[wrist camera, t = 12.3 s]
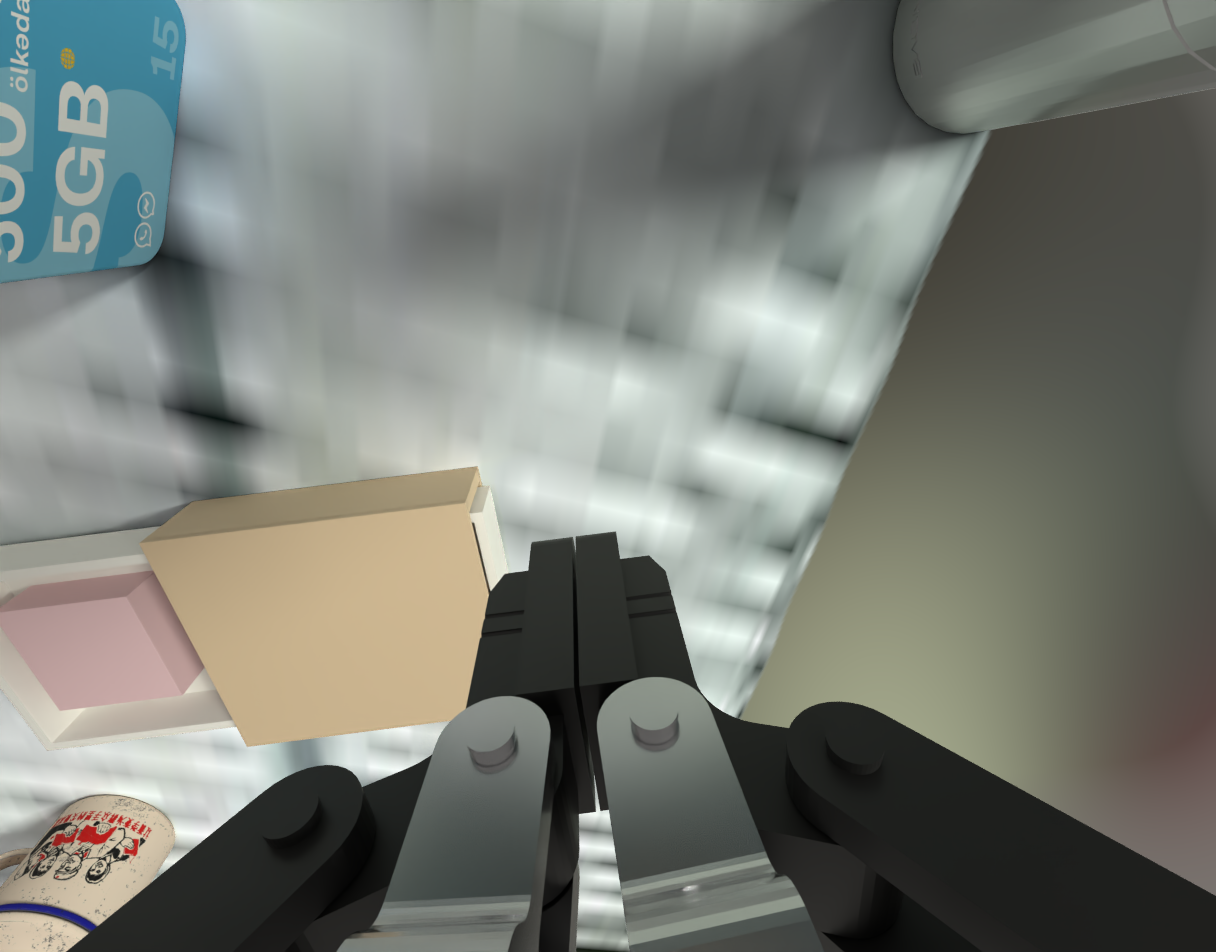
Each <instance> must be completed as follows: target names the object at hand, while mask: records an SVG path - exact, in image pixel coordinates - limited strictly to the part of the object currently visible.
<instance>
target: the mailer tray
mask: <svg viewBox="0 0 1216 952" xmlns="http://www.w3.org/2000/svg"><path fill="white" fill-rule="evenodd" d="M469 513H470V518H471V522H472V526H473V530H474V534H475V539H476V543H477V547H478V551H479V555H480V560H481V564H482V568H483V572H484V576H485V581H486V585H487V589H488V593H490V592H491V590H492V589H493V588H494V587H495V585H496V584H497V583H498V582H499V580H500V579H501V578H502V577H503V575H504V574H507V573H509V572H508V567H507V563H506V558H505V553H504V549H503V544H502V539H501V535H500V530H499V525H498V521H497V516H496V511H495V507H494V502H493V498H492V493H491V488H490V486H483V487H477V490H476V493H475V496H474V499H473V502H472V505H471V508H470V511H469ZM159 527H161V526H158V527H149V528H141V529H133V530H125V531H117V532H109V533H101V534H93V535H84V536H76V537H68V538H60V539H52V540H44V541H36V542H27V543H19V544H11V545H3V546H0V688H1V690H2V691H3V692H4V694H5V695H6V696H7V698H8V699H9V700H10V702H11V703H12V704H13V706H14V707H15V708H16V710H17V711H18V712H19V714H20V715H21V716H22V718H23V719H24V720H25V722H26V723H27V724H28V726H29V727H30V728H31V730H32V731H33V732H34V734H35V735H36V736H37V738H38V739H39V741H40V742H41V743H42V745H43V746H44V747H45V749H46V750H47V751H50V750H58V749H66V748H74V747H81V746H89V745H97V744H105V743H113V742H120V741H128V740H136V739H144V738H152V737H159V736H167V735H175V734H183V733H191V732H198V731H206V730H214V729H222V728H230V727H236V725H235V723H234V721H233V719H232V717H231V715H230V714H229V712H228V710H227V708H226V706H225V704H224V702H223V700H222V699H221V697H220V695H219V693H218V691H217V689H216V687H215V685H214V684H213V682H212V680H211V678H210V676H209V674H208V672H207V670H206V669H205V667H204V665H203V663H202V661H201V659H200V657H199V655H198V653H197V652H196V650H195V648H194V646H193V644H192V642H191V640H190V638H189V637H188V635H187V633H186V631H185V629H184V627H183V625H182V623H181V622H180V620H179V618H178V616H177V614H176V612H175V610H174V608H173V607H172V605H171V603H170V601H169V599H168V597H167V595H166V593H165V592H164V590H163V588H162V586H161V584H160V582H159V580H158V578H157V577H156V575H155V573H154V571H153V569H152V567H151V565H150V563H149V562H148V560H147V558H146V556H145V554H144V552H143V550H142V548H141V546H140V545H139V543H140V542H141V541H143V540H144V539H145V538H146V537H148V536H149V535H150V534H152V533H153V532H154V531H155V530H157V529H158V528H159Z"/></svg>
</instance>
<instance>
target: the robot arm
mask: <svg viewBox="0 0 1216 952" xmlns="http://www.w3.org/2000/svg"><path fill="white" fill-rule="evenodd" d="M893 61H894V66H895V72H896V77H897V81H898V84H899V86H900V89H901V91H902V93H903V96H904V98H905V100H906V101H907V103H908V104H909V106H910V107H911V108H912V110H913V111H914V112H915V114H916V115H918V116H919V117H920V118H921V119H922V120H924V121H925V122H926V123H927V124H929V125H930V126H933V127H935V128H938V129H940V130H942V131H945V132H952V133H959V134H965V133H973V132H981V131H986V130H992V129H997V128H1002V127H1008V126H1013V125H1018V124H1025V123H1031V122H1037V121H1042V120H1047V119H1053V118H1057V117H1063V116H1068V115H1074V114H1079V113H1085V112H1090V111H1095V110H1100V109H1105V108H1111V107H1116V106H1122V105H1127V104H1132V103H1138V102H1143V101H1149V100H1154V99H1159V98H1165V97H1170V96H1175V95H1181V94H1186V93H1191V92H1196V91H1202V90H1207V89H1213V88H1216V0H901V1H900V4H899V7H898V10H897V16H896V22H895V28H894V34H893ZM594 775H595V781H596V787H597V793H598V799H599V805H600V811H603V810H609V813H610V819H611V826H612V833H613V839H614V846H615V853H616V859H617V866H618V873H619V879H620V886H621V893H622V899H623V906H624V915H625V922H626V929H627V935H628V942H629V949H630V952H1216V896H1215V895H1213V894H1211V893H1209V892H1208V891H1206V890H1204V889H1202V888H1200V887H1198V886H1197V885H1195V884H1193V883H1191V882H1189V881H1187V880H1186V879H1184V878H1182V877H1180V876H1178V875H1176V874H1175V873H1173V872H1171V871H1169V870H1167V869H1166V868H1164V867H1162V866H1160V865H1158V864H1156V863H1155V862H1153V861H1151V860H1149V859H1147V858H1145V857H1144V856H1142V855H1140V854H1138V853H1136V852H1134V851H1133V850H1131V849H1129V848H1127V847H1125V846H1124V845H1122V844H1120V843H1118V842H1116V841H1114V840H1113V839H1111V838H1109V837H1107V836H1105V835H1103V834H1102V833H1100V832H1098V831H1096V830H1094V829H1092V828H1091V827H1089V826H1087V825H1085V824H1083V823H1081V822H1079V821H1078V820H1076V819H1074V818H1072V817H1071V816H1069V815H1067V814H1065V813H1063V812H1061V811H1059V810H1058V809H1056V808H1054V807H1052V806H1050V805H1049V804H1047V803H1045V802H1043V801H1041V800H1040V799H1038V798H1036V797H1034V796H1032V795H1030V794H1028V793H1026V792H1025V791H1023V790H1021V789H1019V788H1018V787H1016V786H1014V785H1012V784H1010V783H1009V782H1007V781H1005V780H1003V779H1001V778H999V777H998V776H996V775H994V774H992V773H990V772H988V771H986V770H985V769H983V768H981V767H979V766H977V765H976V764H974V763H972V762H970V761H968V760H966V759H965V758H963V757H961V756H959V755H957V754H956V753H954V752H952V751H950V750H948V749H946V748H945V747H943V746H941V745H939V744H937V743H935V742H934V741H932V740H930V739H928V738H926V737H924V736H923V735H921V734H919V733H917V732H915V731H914V730H912V729H910V728H908V727H906V726H904V725H903V724H901V723H899V722H897V721H895V720H893V719H892V718H890V717H888V716H886V715H884V714H882V713H880V712H878V711H876V710H874V709H871V708H868V707H866V706H863V705H859V704H854V703H849V702H826V703H821V704H817V705H814V706H811V707H809V708H807V709H806V710H804V711H802V712H801V713H800V714H799V715H798V716H797V717H796V718H795V719H794V720H793V722H792V723H791V725H790V728H784V727H777V726H771V725H764V724H758V723H752V722H748V721H743V720H740V719H737V718H735V717H732V716H730V715H728V714H726V713H724V712H722V711H721V710H719V709H718V708H716V707H715V706H714V705H712V704H711V703H710V702H709V701H708V700H707V699H706V698H705V697H704V695H703V694H702V693H701V691H700V690H699V688H698V686H697V684H696V681H695V678H694V674H693V671H692V667H691V663H690V660H689V656H688V652H687V649H686V645H685V641H684V638H683V634H682V630H681V627H680V623H679V619H678V616H677V613H676V608H675V605H674V601H673V597H672V595H671V590H670V586H669V582H668V579H667V575H666V571H665V570H664V569H663V568H662V567H660V566H659V565H658V564H657V563H656V562H655V561H654V560H653V559H652V558H651V557H650V556H642V557H634V558H626V559H620V556H619V549H618V543H617V536H616V532H608V533H600V534H592V535H584V536H576V552H575V545H574V540H573V537H569V538H561V539H553V540H545V541H537V542H532V544H531V551H530V561H529V570H528V571H523V572H515V573H507V574H504V575H503V577H502V578H501V579H500V580H499V582H498V583H497V584H496V585H495V587H494V588H493V589H492V590H491V592H490V593H489V596H488V601H487V606H486V611H485V619H484V621H483V626H482V631H481V638H480V641H479V645H478V650H477V655H476V660H475V665H474V670H473V675H472V680H471V685H470V690H469V695H468V700H467V705H466V709H465V710H463V711H462V712H461V713H459V714H458V715H457V716H456V717H455V718H453V719H452V720H451V721H450V722H449V724H448V725H447V726H446V727H445V728H444V730H443V731H442V733H441V735H440V736H439V738H438V741H437V743H436V745H435V748H434V751H433V754H432V755H431V756H429V757H428V758H426V759H425V760H423V761H421V762H420V763H418V764H416V765H414V766H412V767H410V768H407V769H405V770H403V771H400V772H398V773H395V774H393V775H391V776H388V777H386V778H383V779H381V780H378V781H376V782H374V783H371V784H369V785H366V786H364V787H362V786H361V784H360V782H359V780H358V778H357V777H356V776H355V775H354V774H353V773H352V772H351V771H349V770H347V769H346V768H343V767H339V766H332V765H324V766H316V767H311V768H307V769H304V770H301V771H299V772H296V773H294V774H292V775H290V776H287V777H285V778H284V779H282V780H280V781H279V782H277V783H275V784H274V785H272V786H271V787H270V788H268V789H267V790H266V791H264V792H263V793H262V794H260V795H259V796H258V797H257V798H255V799H254V800H253V801H252V802H250V803H249V804H248V805H247V806H246V807H244V808H243V809H242V810H241V811H239V812H238V813H237V814H236V815H234V816H233V817H232V818H231V819H229V820H228V821H227V822H226V823H224V824H223V825H222V826H221V827H220V828H218V829H217V830H216V831H215V832H213V833H212V834H211V835H210V836H208V837H207V838H206V839H205V840H203V841H202V842H201V843H200V844H199V845H197V846H196V847H195V848H194V849H192V850H191V851H190V852H189V853H187V854H186V855H185V856H184V857H182V858H181V859H180V860H179V861H177V862H176V863H175V864H174V865H173V866H171V867H170V868H169V869H168V870H166V871H165V872H164V873H163V874H161V875H160V876H159V877H158V878H156V879H155V880H154V881H153V882H152V883H150V884H149V885H148V886H147V887H145V888H144V889H143V890H142V891H140V892H139V893H138V894H137V895H135V896H134V897H133V898H132V899H131V900H129V901H128V902H127V903H126V904H124V905H123V906H122V907H121V908H119V909H118V910H117V911H116V912H114V913H113V914H112V915H111V916H109V917H108V918H107V919H106V920H105V921H103V922H102V923H101V924H100V925H98V926H97V927H96V928H95V929H93V930H92V931H91V932H90V933H88V934H87V935H86V936H85V937H84V938H82V939H81V940H80V941H79V942H77V943H76V944H75V945H74V946H72V947H71V948H70V949H69V950H67V951H66V952H576V938H577V918H578V899H579V880H580V876H579V865H578V858H579V814H582V813H590V812H596V806H595V785H594Z"/></svg>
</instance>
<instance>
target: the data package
mask: <svg viewBox="0 0 1216 952" xmlns="http://www.w3.org/2000/svg"><path fill="white" fill-rule="evenodd" d="M185 42H186V33H185V25H184V20H183V17H182V14H181V11H180V9H179V7H178V5H177V3H176V1H175V0H0V283H7V282H14V281H22V280H30V279H37V278H45V277H53V276H60V275H68V274H75V273H83V272H91V271H98V270H106V269H114V268H121V267H129V266H137V265H142V264H145V263H147V262H148V261H150V260H151V259H152V258H153V257H154V256H155V255H156V253H157V252H158V250H159V248H160V246H161V244H162V241H163V237H164V231H165V222H166V213H167V204H168V195H169V186H170V177H171V168H172V159H173V151H174V142H175V133H176V124H177V115H178V106H179V97H180V88H181V79H182V70H183V61H184V52H185Z"/></svg>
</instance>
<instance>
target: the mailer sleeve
mask: <svg viewBox="0 0 1216 952" xmlns="http://www.w3.org/2000/svg"><path fill="white" fill-rule="evenodd" d="M477 487H482V483H481V479H480V474H479V470H478V467H470V468H462V469H454V470H445V471H437V472H429V473H421V474H413V475H405V476H396V477H388V478H380V479H372V480H364V481H356V482H347V483H339V484H331V485H323V486H315V487H307V488H299V489H290V490H282V491H274V492H266V493H258V494H250V495H241V496H233V497H225V498H217V499H209V500H201V501H193V502H191V503H190V504H189V505H187V506H186V507H185V508H184V509H182V510H181V511H180V512H178V513H177V514H176V515H175V516H173V517H172V518H171V519H169V520H168V521H167V522H166V523H164V524H163V525H162V526H161V527H159V528H158V529H157V530H155V531H154V532H153V533H152V534H150V535H149V536H148V537H146V538H145V539H144V540H143V541H141V542H140V543H139V545H140V546H141V548H142V550H143V552H144V554H145V556H146V558H147V560H148V562H149V563H150V565H151V567H152V569H153V571H154V573H155V575H156V577H157V578H158V580H159V582H160V584H161V586H162V588H163V590H164V592H165V593H166V595H167V597H168V599H169V601H170V603H171V605H172V607H173V608H174V610H175V612H176V614H177V616H178V618H179V620H180V622H181V623H182V625H183V627H184V629H185V631H186V633H187V635H188V637H189V638H190V640H191V642H192V644H193V646H194V648H195V650H196V652H197V653H198V655H199V657H200V659H201V661H202V663H203V665H204V667H205V669H206V670H207V672H208V674H209V676H210V678H211V680H212V682H213V684H214V685H215V687H216V689H217V691H218V693H219V695H220V697H221V699H222V700H223V702H224V704H225V706H226V708H227V710H228V712H229V714H230V715H231V717H232V719H233V721H234V723H235V725H236V727H237V729H238V730H239V732H240V734H241V736H242V738H243V740H244V742H245V744H246V745H247V747H249V746H257V745H265V744H273V743H280V742H288V741H296V740H304V739H311V738H319V737H327V736H335V735H343V734H350V733H358V732H366V731H374V730H381V729H389V728H397V727H405V726H412V725H420V724H428V723H436V722H444V721H451V720H452V719H453V718H455V717H456V716H457V715H458V714H459V713H461V712H462V711H463V710H465V709H466V705H467V700H468V695H469V690H470V685H471V680H472V675H473V670H474V665H475V660H476V655H477V650H478V645H479V641H480V638H481V631H482V626H483V621H484V619H485V611H486V606H487V601H488V596H489V593H488V589H487V585H486V581H485V576H484V572H483V568H482V564H481V560H480V555H479V551H478V547H477V543H476V539H475V534H474V530H473V526H472V522H471V518H470V513H469V511H470V508H471V505H472V502H473V499H474V496H475V493H476V490H477Z"/></svg>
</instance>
